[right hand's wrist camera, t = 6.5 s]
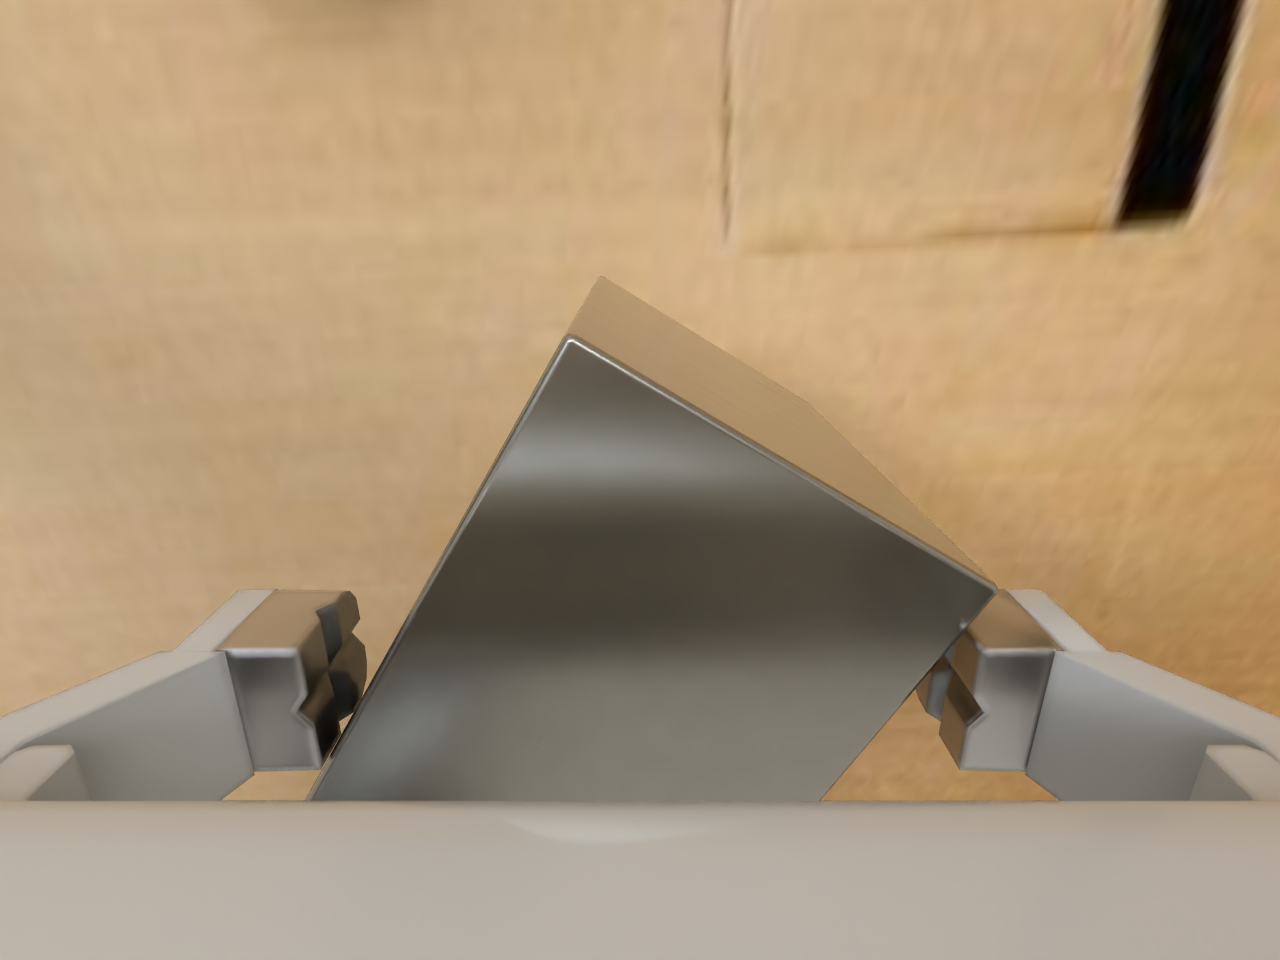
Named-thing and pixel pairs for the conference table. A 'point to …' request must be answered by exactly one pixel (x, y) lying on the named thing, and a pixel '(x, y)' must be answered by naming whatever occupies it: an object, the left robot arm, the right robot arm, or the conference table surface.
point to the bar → (658, 595)
